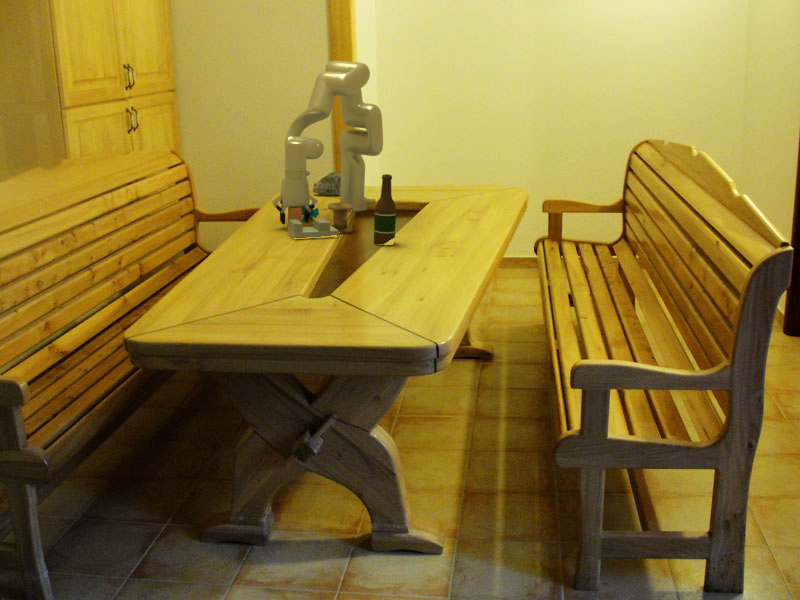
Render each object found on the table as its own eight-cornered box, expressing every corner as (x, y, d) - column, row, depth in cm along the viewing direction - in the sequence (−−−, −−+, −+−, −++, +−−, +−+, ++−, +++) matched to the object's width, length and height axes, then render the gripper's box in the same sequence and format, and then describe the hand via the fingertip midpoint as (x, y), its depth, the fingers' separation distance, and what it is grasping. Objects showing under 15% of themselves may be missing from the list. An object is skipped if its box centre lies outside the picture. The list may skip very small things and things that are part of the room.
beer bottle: (398, 242, 342) (402, 174, 335) (389, 247, 335) (392, 177, 328) (379, 239, 345) (381, 172, 338) (369, 244, 338) (371, 175, 331)
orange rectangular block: (298, 226, 358) (298, 205, 356) (301, 229, 354) (301, 207, 352) (287, 227, 357) (288, 205, 354) (290, 229, 353) (291, 208, 351)
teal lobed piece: (324, 215, 371) (313, 199, 363) (320, 228, 368) (308, 213, 360) (298, 215, 375) (287, 200, 367) (294, 228, 373) (283, 213, 365)
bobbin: (347, 227, 361) (348, 202, 358) (355, 233, 353) (356, 207, 350) (324, 228, 357) (324, 203, 354) (332, 234, 349) (332, 208, 347)
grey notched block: (331, 232, 352) (331, 217, 350) (338, 237, 345) (338, 222, 343) (288, 234, 346) (288, 219, 344) (294, 240, 339) (294, 224, 337)
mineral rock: (311, 196, 413) (312, 172, 410) (318, 191, 423) (319, 168, 420) (341, 198, 411) (341, 174, 408) (347, 194, 421) (348, 170, 418)
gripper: (315, 172, 356) (314, 219, 361) (268, 173, 350) (268, 221, 355) (321, 176, 350) (320, 224, 355) (274, 177, 343) (274, 226, 348)
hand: (294, 222), depth 355 cm, fingers open, 8 cm apart
